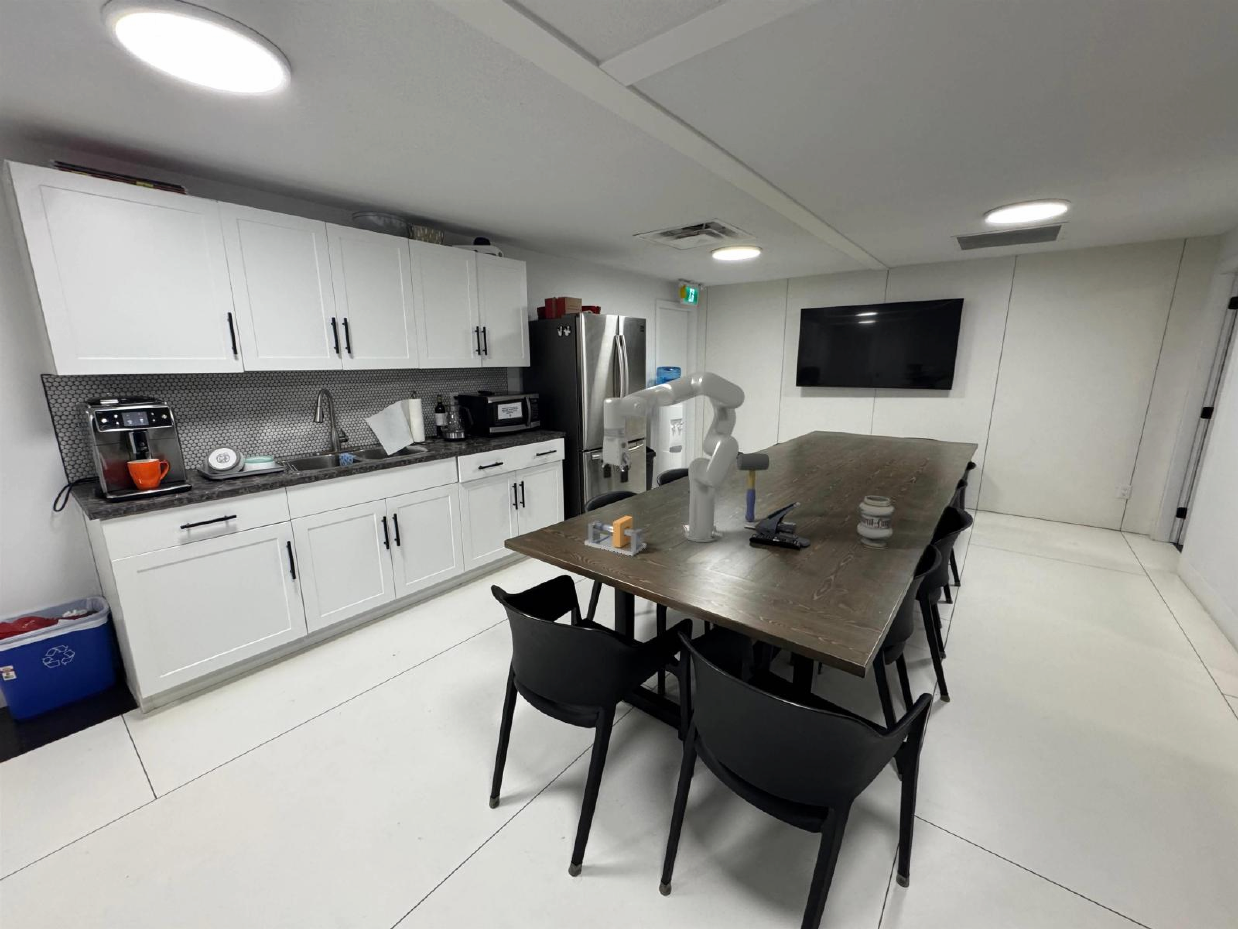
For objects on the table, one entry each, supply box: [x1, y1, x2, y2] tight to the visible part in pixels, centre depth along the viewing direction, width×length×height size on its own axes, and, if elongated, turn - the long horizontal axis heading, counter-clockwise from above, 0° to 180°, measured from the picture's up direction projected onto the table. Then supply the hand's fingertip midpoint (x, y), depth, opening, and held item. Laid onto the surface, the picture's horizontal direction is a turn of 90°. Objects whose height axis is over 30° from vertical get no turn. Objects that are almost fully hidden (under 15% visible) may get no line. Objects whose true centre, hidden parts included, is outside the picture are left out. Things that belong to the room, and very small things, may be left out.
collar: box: [612, 515, 634, 547], centre depth 176 cm, size 3×9×9 cm, turn 147°
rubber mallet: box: [736, 452, 770, 522], centre depth 205 cm, size 12×8×30 cm, turn 90°
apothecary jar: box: [856, 495, 896, 550], centre depth 179 cm, size 12×12×18 cm
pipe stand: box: [584, 519, 647, 557], centre depth 179 cm, size 21×10×8 cm, turn 57°
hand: (615, 479), depth 173 cm, fingers open, 9 cm apart
